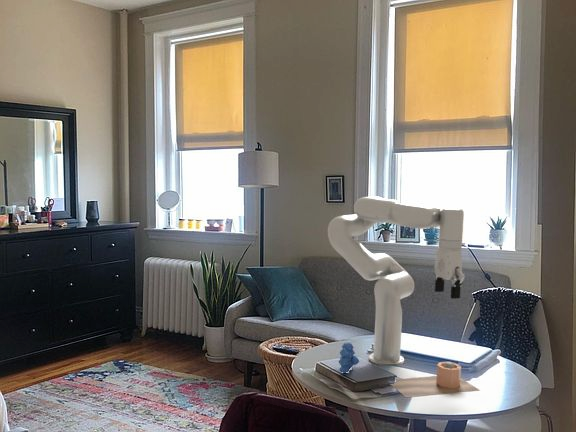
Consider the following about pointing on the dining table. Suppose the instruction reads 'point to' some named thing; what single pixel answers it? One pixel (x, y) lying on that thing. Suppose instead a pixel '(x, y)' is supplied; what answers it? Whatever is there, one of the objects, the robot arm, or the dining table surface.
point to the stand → (429, 386)
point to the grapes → (347, 358)
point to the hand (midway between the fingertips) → (447, 294)
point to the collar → (448, 375)
